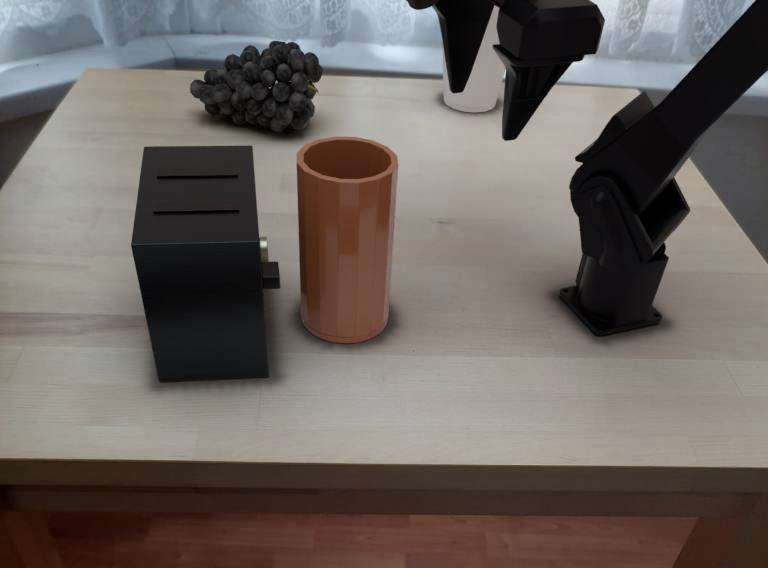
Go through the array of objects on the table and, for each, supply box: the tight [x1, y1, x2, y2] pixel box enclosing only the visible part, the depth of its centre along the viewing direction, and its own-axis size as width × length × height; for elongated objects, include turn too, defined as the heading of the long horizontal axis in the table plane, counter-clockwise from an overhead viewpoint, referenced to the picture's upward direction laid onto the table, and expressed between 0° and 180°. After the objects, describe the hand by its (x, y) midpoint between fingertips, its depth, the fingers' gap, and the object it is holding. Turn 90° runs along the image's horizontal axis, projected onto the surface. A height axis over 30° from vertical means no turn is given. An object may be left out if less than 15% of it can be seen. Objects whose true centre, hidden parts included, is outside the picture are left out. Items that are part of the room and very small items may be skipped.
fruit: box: [189, 40, 324, 133], centre depth 85 cm, size 9×8×15 cm
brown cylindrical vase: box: [295, 136, 399, 344], centre depth 59 cm, size 7×7×13 cm
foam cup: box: [441, 6, 506, 114], centre depth 90 cm, size 10×9×13 cm
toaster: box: [130, 145, 281, 383], centre depth 58 cm, size 9×14×11 cm, turn 8°
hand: (481, 115), depth 63 cm, fingers open, 9 cm apart
